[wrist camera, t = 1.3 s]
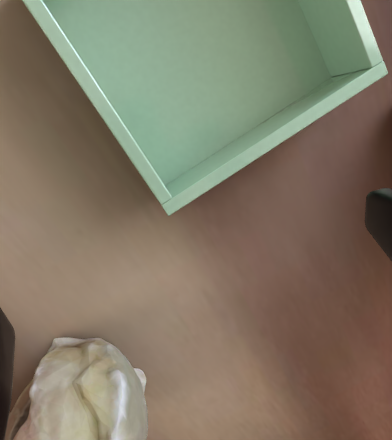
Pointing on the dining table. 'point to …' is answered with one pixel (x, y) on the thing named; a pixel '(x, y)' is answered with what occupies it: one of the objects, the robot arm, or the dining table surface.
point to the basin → (209, 77)
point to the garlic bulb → (81, 396)
